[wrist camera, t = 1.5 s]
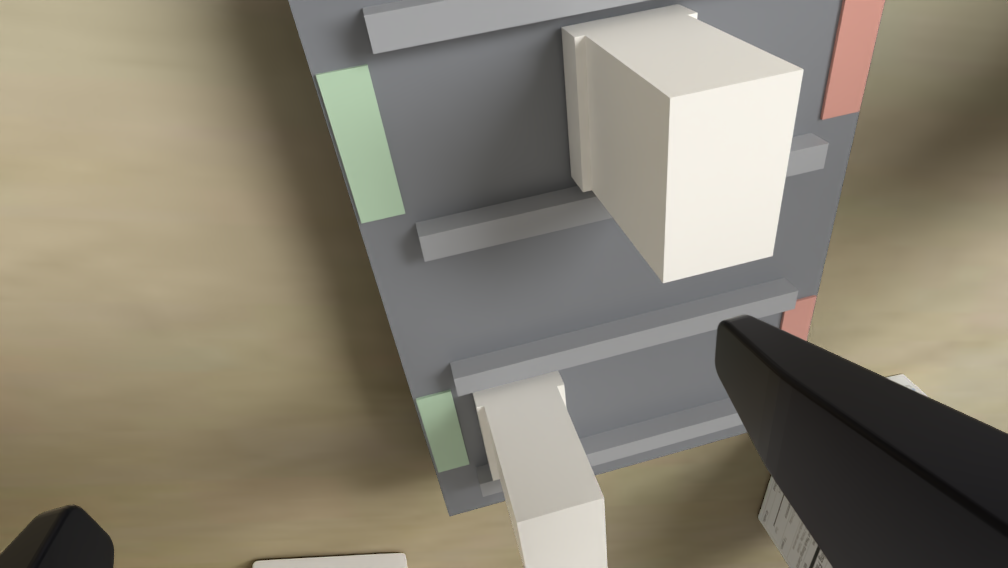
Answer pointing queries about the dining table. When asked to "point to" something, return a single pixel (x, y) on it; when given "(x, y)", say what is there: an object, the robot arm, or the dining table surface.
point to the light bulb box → (798, 520)
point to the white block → (680, 136)
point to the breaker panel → (557, 217)
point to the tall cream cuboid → (543, 473)
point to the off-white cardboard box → (339, 562)
